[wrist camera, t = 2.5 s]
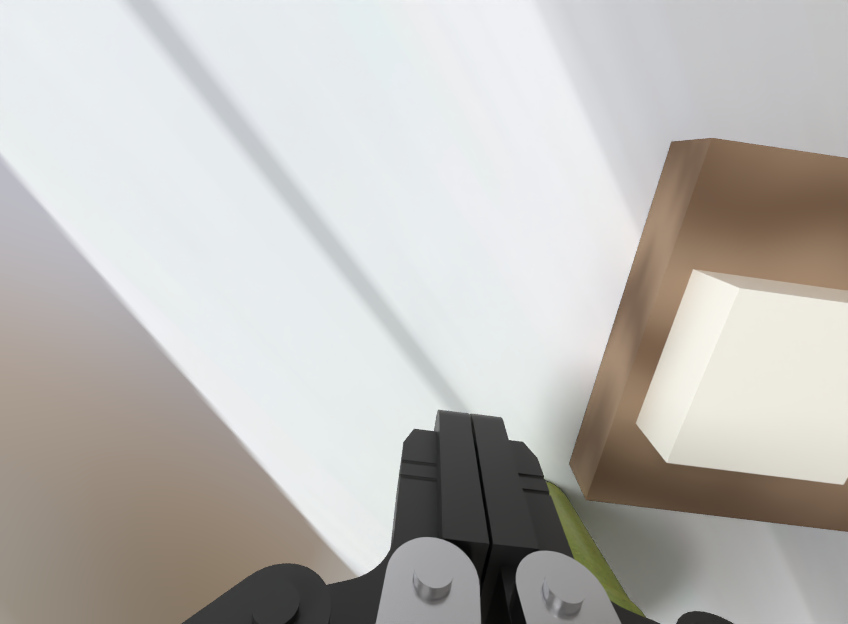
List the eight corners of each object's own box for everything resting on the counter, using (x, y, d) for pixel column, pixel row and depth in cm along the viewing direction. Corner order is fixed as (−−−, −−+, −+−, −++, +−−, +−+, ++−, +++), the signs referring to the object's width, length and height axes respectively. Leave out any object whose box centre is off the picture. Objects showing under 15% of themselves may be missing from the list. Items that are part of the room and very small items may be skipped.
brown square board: (671, 141, 16) (712, 137, 14) (1004, 190, 17) (1099, 195, 14) (569, 463, 22) (585, 499, 19) (821, 494, 22) (868, 534, 20)
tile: (693, 269, 15) (739, 288, 13) (870, 293, 16) (947, 316, 13) (635, 423, 18) (666, 462, 15) (790, 443, 18) (843, 484, 16)
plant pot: (401, 494, 23) (384, 680, 15) (554, 418, 21) (633, 582, 13) (484, 595, 25) (510, 800, 17) (627, 535, 23) (732, 734, 15)
